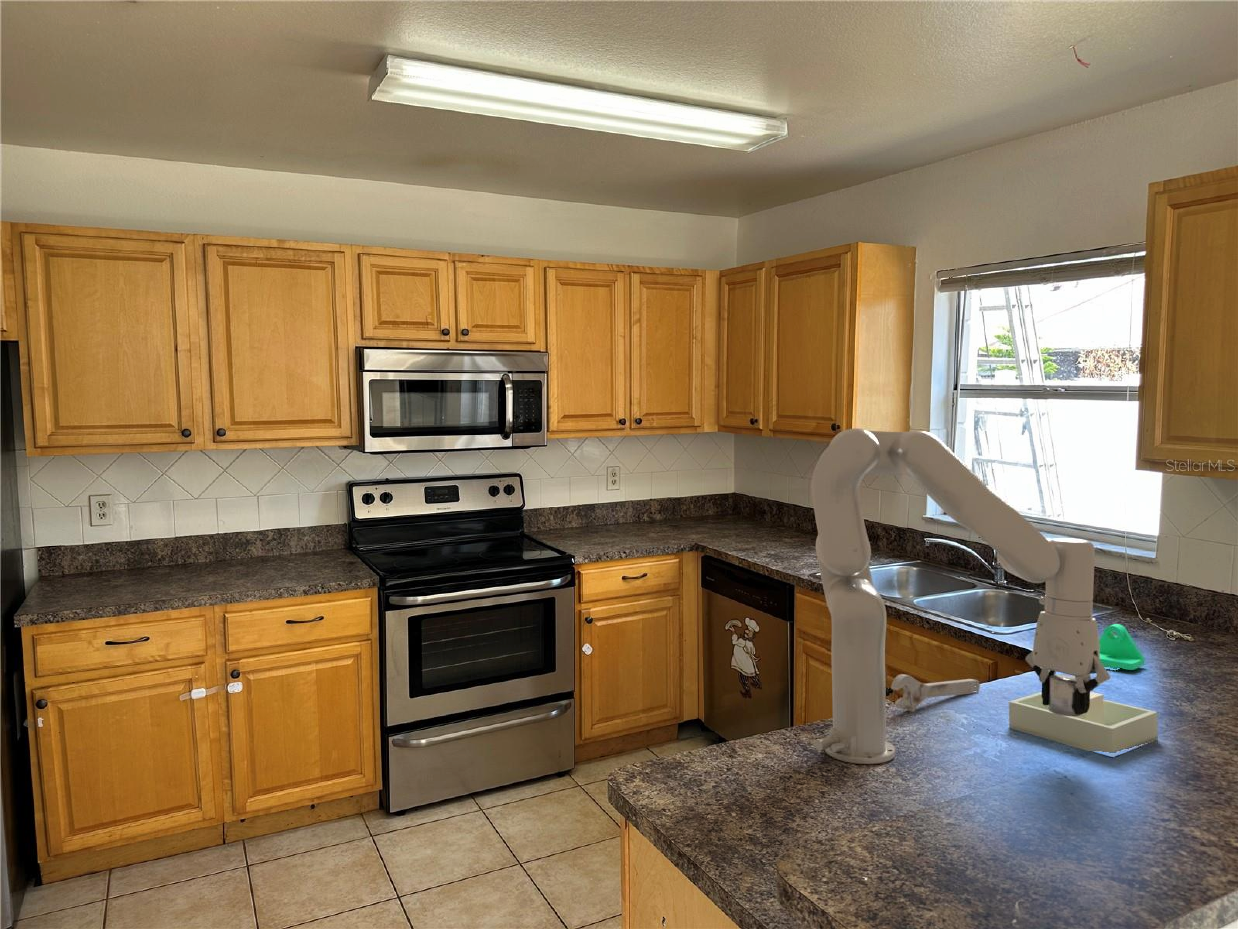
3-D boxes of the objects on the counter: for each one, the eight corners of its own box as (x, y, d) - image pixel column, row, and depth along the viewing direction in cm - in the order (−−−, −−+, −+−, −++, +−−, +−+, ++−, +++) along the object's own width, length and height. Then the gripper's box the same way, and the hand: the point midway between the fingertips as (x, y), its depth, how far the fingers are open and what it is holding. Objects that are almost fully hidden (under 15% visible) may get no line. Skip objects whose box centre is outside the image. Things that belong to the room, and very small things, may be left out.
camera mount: (1080, 665, 214) (1079, 625, 213) (1093, 660, 218) (1092, 620, 218) (1132, 674, 204) (1131, 632, 204) (1144, 669, 209) (1144, 627, 209)
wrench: (979, 704, 193) (896, 715, 176) (971, 702, 194) (888, 713, 177) (981, 669, 193) (898, 676, 176) (973, 667, 195) (891, 674, 178)
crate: (1112, 758, 151) (1112, 728, 151) (1009, 728, 168) (1008, 701, 168) (1157, 739, 160) (1157, 712, 160) (1055, 713, 177) (1054, 687, 177)
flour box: (1086, 737, 160) (1086, 700, 160) (1055, 728, 165) (1055, 692, 165) (1103, 730, 163) (1103, 694, 163) (1072, 722, 168) (1072, 687, 168)
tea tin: (1070, 718, 148) (1072, 684, 148) (1042, 710, 152) (1043, 676, 152) (1087, 713, 151) (1088, 680, 150) (1058, 705, 155) (1059, 673, 155)
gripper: (1011, 601, 156) (1008, 699, 157) (1105, 619, 142) (1101, 726, 142) (1035, 598, 160) (1031, 693, 161) (1129, 614, 146) (1125, 719, 146)
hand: (1064, 707), depth 151 cm, fingers closed on tea tin, 5 cm apart
